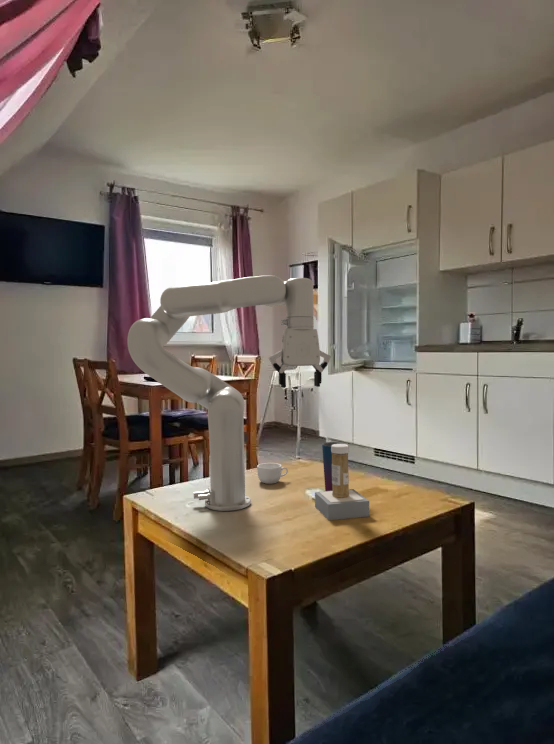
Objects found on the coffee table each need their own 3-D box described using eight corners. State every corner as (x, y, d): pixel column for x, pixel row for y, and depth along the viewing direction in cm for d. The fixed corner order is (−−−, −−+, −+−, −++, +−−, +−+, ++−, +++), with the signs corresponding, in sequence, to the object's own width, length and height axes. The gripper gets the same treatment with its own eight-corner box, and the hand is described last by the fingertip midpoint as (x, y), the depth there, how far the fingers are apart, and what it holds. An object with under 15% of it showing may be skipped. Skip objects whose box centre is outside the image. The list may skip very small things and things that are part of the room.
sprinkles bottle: (351, 497, 133) (351, 446, 132) (335, 498, 132) (334, 447, 131) (345, 492, 137) (344, 442, 137) (329, 493, 136) (328, 443, 136)
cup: (347, 498, 146) (347, 446, 145) (323, 498, 146) (322, 446, 145) (344, 491, 153) (344, 441, 152) (321, 491, 153) (321, 441, 152)
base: (328, 520, 128) (328, 503, 128) (315, 506, 139) (314, 491, 139) (369, 516, 131) (369, 500, 131) (353, 503, 142) (353, 488, 141)
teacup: (260, 486, 159) (260, 469, 159) (254, 480, 167) (254, 463, 167) (291, 483, 162) (291, 466, 162) (284, 477, 170) (284, 461, 169)
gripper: (271, 323, 134) (272, 389, 135) (334, 323, 138) (334, 387, 139) (265, 324, 142) (266, 386, 143) (325, 324, 146) (326, 384, 147)
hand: (300, 386), depth 141 cm, fingers open, 9 cm apart
